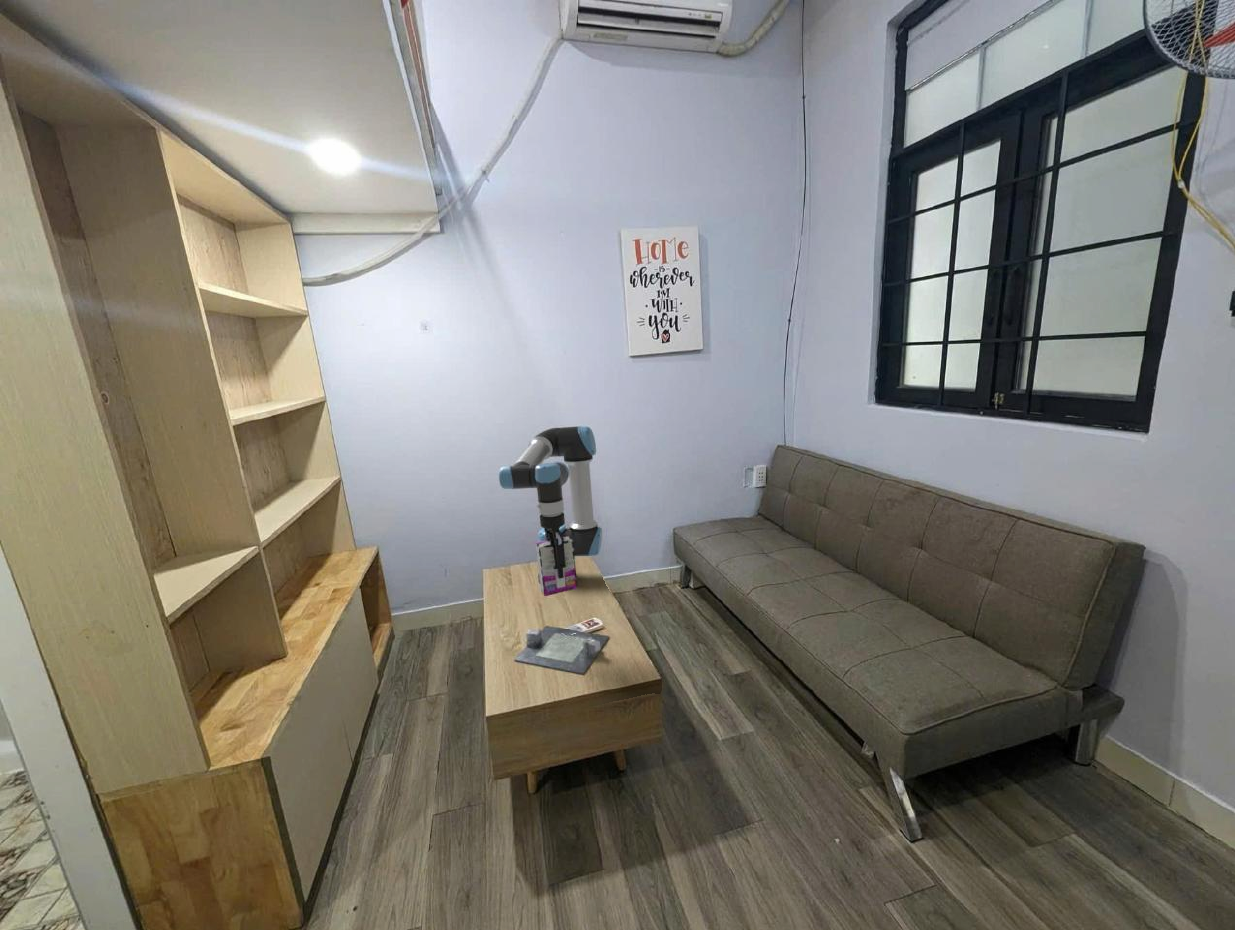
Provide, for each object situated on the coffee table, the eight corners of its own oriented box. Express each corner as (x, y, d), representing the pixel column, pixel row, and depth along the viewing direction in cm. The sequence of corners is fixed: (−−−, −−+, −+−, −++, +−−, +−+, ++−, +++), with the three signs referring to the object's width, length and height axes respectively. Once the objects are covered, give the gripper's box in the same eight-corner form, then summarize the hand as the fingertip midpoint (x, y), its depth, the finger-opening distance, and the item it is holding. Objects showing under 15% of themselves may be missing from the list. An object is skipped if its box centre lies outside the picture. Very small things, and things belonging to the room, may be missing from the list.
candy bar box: (573, 582, 158) (569, 535, 155) (578, 588, 154) (573, 540, 150) (539, 590, 154) (534, 542, 151) (544, 597, 150) (538, 547, 146)
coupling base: (511, 660, 151) (509, 646, 150) (543, 626, 169) (542, 614, 168) (586, 675, 142) (585, 661, 141) (612, 637, 160) (611, 625, 159)
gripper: (532, 508, 156) (539, 575, 160) (547, 523, 139) (555, 597, 144) (555, 504, 158) (561, 570, 163) (572, 518, 142) (578, 591, 147)
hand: (558, 583), depth 153 cm, fingers closed on candy bar box, 5 cm apart
